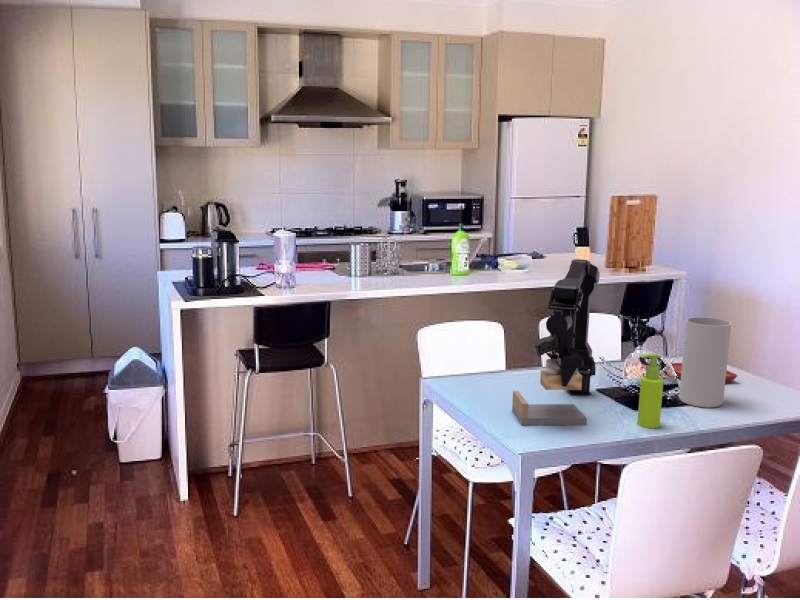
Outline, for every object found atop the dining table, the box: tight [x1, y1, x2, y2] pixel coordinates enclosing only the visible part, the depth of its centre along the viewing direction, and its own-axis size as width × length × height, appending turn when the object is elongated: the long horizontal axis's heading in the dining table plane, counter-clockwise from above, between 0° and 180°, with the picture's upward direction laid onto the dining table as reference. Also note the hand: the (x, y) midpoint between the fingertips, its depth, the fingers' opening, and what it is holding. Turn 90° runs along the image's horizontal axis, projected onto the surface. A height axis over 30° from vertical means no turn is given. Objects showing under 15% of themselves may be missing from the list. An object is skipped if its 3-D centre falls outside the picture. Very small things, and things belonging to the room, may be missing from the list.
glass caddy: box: [539, 358, 582, 391], centre depth 216 cm, size 10×6×8 cm, turn 95°
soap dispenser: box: [637, 353, 664, 429], centre depth 212 cm, size 6×7×20 cm
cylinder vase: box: [678, 316, 732, 409], centre depth 233 cm, size 12×12×25 cm
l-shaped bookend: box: [511, 390, 588, 426], centre depth 217 cm, size 18×12×6 cm, turn 95°
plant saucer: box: [671, 362, 738, 384], centre depth 263 cm, size 18×18×3 cm
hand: (560, 383), depth 216 cm, fingers closed on glass caddy, 6 cm apart
